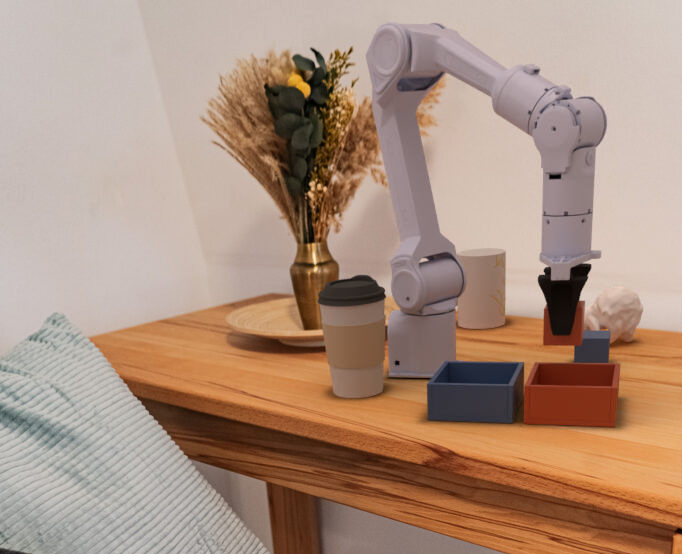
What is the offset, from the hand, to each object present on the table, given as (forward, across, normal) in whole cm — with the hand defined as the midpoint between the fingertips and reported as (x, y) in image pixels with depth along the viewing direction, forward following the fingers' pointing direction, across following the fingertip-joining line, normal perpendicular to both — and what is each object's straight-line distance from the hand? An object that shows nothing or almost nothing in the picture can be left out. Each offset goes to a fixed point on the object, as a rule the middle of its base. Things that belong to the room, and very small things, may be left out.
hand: (563, 329), depth 103 cm
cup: (+8, +40, +17) cm, 45 cm away
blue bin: (+8, -6, +10) cm, 14 cm away
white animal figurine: (+9, +29, -4) cm, 31 cm away
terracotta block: (+1, 0, 0) cm, 1 cm away
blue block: (+8, +14, -3) cm, 17 cm away
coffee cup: (+9, 0, +27) cm, 29 cm away
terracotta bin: (+8, -6, -2) cm, 10 cm away
